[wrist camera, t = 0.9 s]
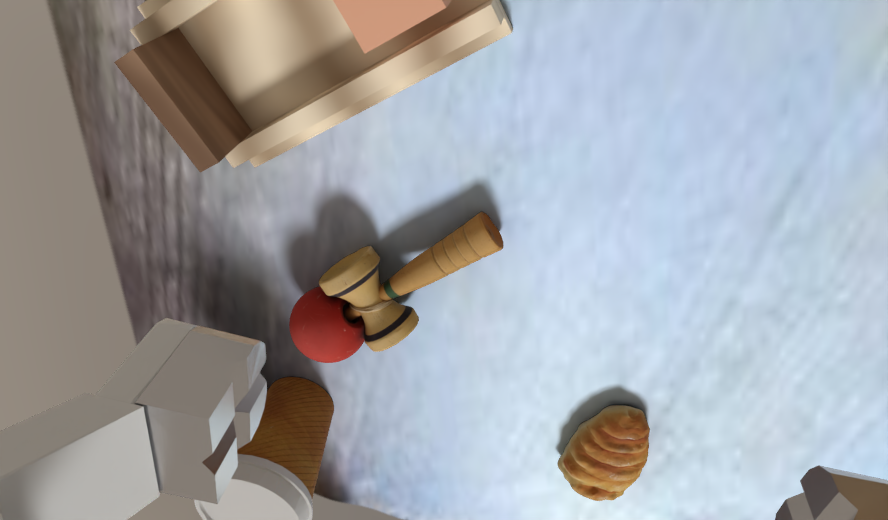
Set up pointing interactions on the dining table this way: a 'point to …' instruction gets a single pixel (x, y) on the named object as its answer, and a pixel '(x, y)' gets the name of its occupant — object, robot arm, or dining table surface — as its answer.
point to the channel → (282, 69)
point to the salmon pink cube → (385, 18)
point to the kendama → (379, 294)
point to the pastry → (606, 453)
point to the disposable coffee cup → (279, 457)
